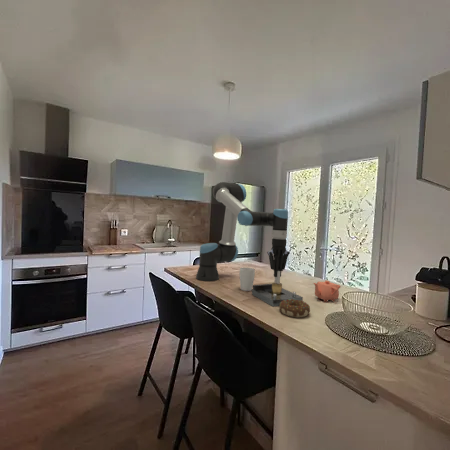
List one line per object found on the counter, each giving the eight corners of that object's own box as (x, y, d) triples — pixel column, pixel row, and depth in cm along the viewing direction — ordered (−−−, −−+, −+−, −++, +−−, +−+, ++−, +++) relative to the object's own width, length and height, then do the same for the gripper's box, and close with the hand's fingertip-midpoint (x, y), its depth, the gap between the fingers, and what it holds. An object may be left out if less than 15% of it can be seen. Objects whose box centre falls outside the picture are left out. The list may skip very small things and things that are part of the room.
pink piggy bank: (317, 294, 153) (318, 276, 152) (340, 298, 147) (341, 280, 146) (311, 300, 141) (312, 281, 140) (335, 305, 134) (337, 285, 134)
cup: (253, 292, 151) (254, 271, 150) (237, 290, 153) (238, 269, 152) (254, 288, 160) (255, 268, 159) (239, 286, 162) (240, 267, 161)
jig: (251, 294, 146) (252, 284, 146) (279, 291, 154) (279, 282, 154) (272, 306, 128) (273, 295, 128) (302, 303, 136) (303, 292, 135)
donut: (316, 315, 119) (317, 304, 119) (295, 321, 112) (295, 309, 112) (292, 305, 131) (292, 295, 131) (271, 310, 124) (272, 299, 124)
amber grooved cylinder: (269, 297, 142) (270, 283, 141) (277, 297, 144) (278, 282, 144) (274, 300, 137) (275, 285, 137) (283, 300, 139) (283, 284, 139)
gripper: (273, 239, 134) (270, 285, 135) (294, 239, 139) (291, 283, 140) (264, 237, 140) (262, 281, 141) (285, 237, 146) (282, 280, 147)
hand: (277, 282), depth 141 cm, fingers closed
